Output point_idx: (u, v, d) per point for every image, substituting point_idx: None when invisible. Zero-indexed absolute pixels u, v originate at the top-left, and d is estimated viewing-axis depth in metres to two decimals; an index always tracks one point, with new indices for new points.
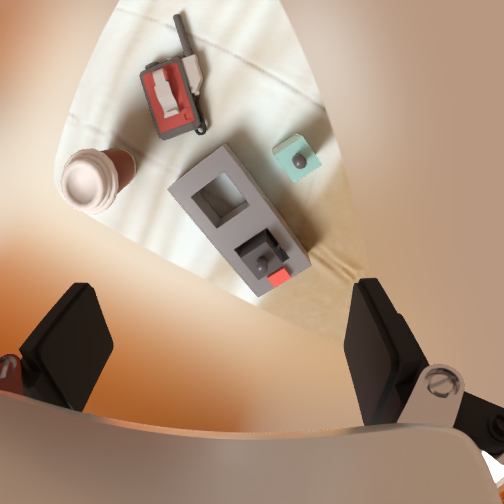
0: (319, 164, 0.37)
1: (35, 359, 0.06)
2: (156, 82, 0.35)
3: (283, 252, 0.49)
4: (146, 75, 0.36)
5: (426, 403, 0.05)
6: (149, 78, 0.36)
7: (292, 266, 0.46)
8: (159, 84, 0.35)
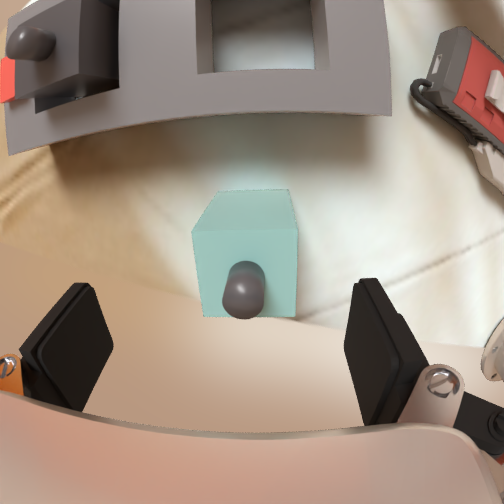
0: (207, 312, 0.14)
1: (35, 359, 0.06)
2: None
3: (62, 99, 0.15)
4: None
5: (426, 403, 0.05)
6: None
7: (20, 113, 0.13)
8: None
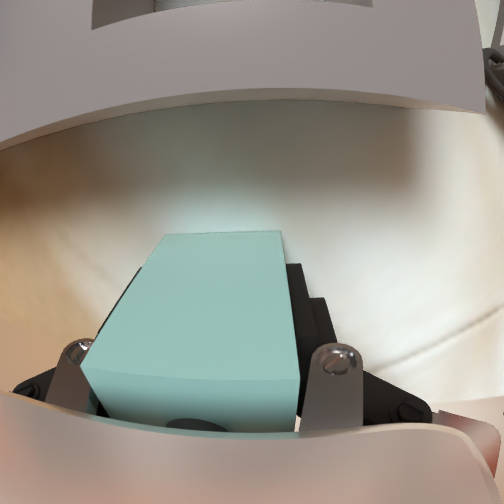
0: None
1: None
2: None
3: None
4: None
5: (327, 384, 0.06)
6: None
7: None
8: None
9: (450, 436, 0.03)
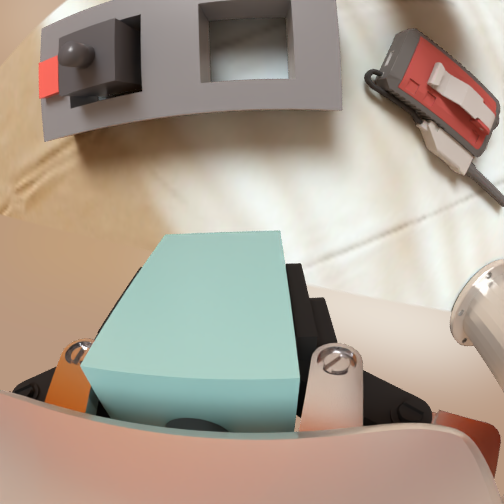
0: None
1: None
2: (485, 107, 0.17)
3: (89, 97, 0.20)
4: (494, 106, 0.18)
5: (327, 384, 0.06)
6: (489, 105, 0.17)
7: (56, 107, 0.17)
8: (480, 107, 0.17)
9: (450, 436, 0.03)
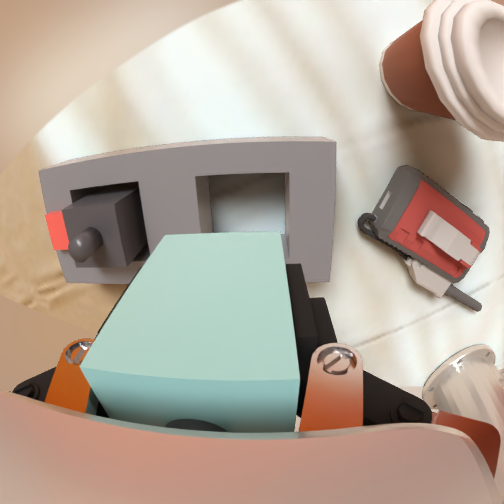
0: None
1: None
2: (471, 248, 0.21)
3: None
4: (482, 236, 0.22)
5: (327, 384, 0.06)
6: (477, 237, 0.22)
7: (71, 257, 0.22)
8: (466, 249, 0.21)
9: (450, 436, 0.03)
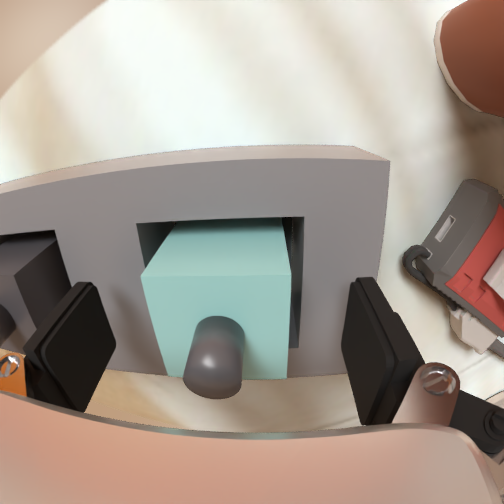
0: (172, 372, 0.10)
1: (39, 358, 0.06)
2: None
3: None
4: None
5: (422, 401, 0.05)
6: None
7: None
8: None
9: (450, 436, 0.03)
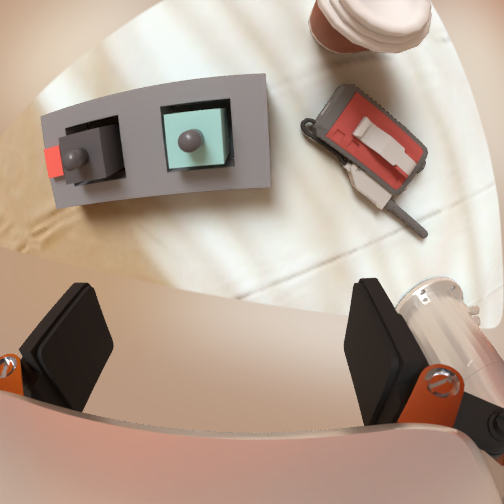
0: (171, 165, 0.23)
1: (35, 359, 0.06)
2: (405, 156, 0.25)
3: None
4: (419, 154, 0.26)
5: (426, 403, 0.05)
6: (414, 152, 0.26)
7: (63, 184, 0.26)
8: (400, 155, 0.25)
9: (450, 436, 0.03)
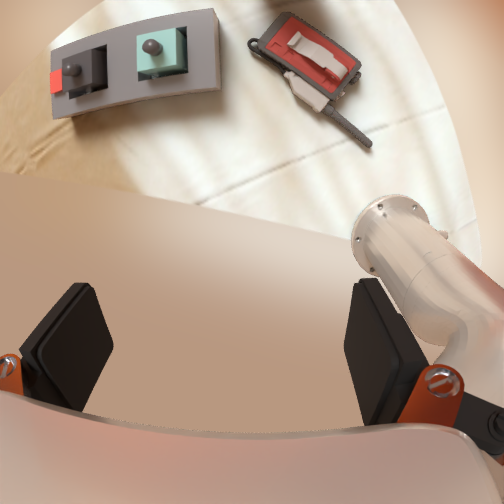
0: (138, 69, 0.26)
1: (35, 359, 0.06)
2: (335, 61, 0.28)
3: (80, 93, 0.32)
4: (352, 64, 0.29)
5: (426, 403, 0.05)
6: (346, 62, 0.29)
7: (60, 99, 0.29)
8: (330, 60, 0.28)
9: (450, 436, 0.03)
